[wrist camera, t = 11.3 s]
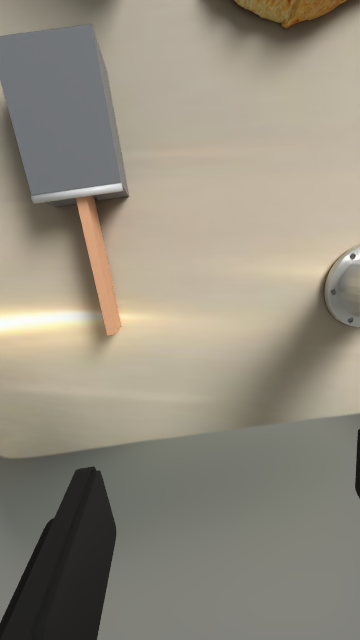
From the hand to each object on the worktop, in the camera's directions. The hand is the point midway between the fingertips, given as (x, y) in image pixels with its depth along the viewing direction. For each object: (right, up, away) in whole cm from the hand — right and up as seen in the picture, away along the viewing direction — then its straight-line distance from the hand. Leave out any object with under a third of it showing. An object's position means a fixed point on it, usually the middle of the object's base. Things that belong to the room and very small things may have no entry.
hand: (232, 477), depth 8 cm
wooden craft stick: (-12, +14, +24) cm, 31 cm away
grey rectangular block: (-15, +28, +22) cm, 38 cm away
